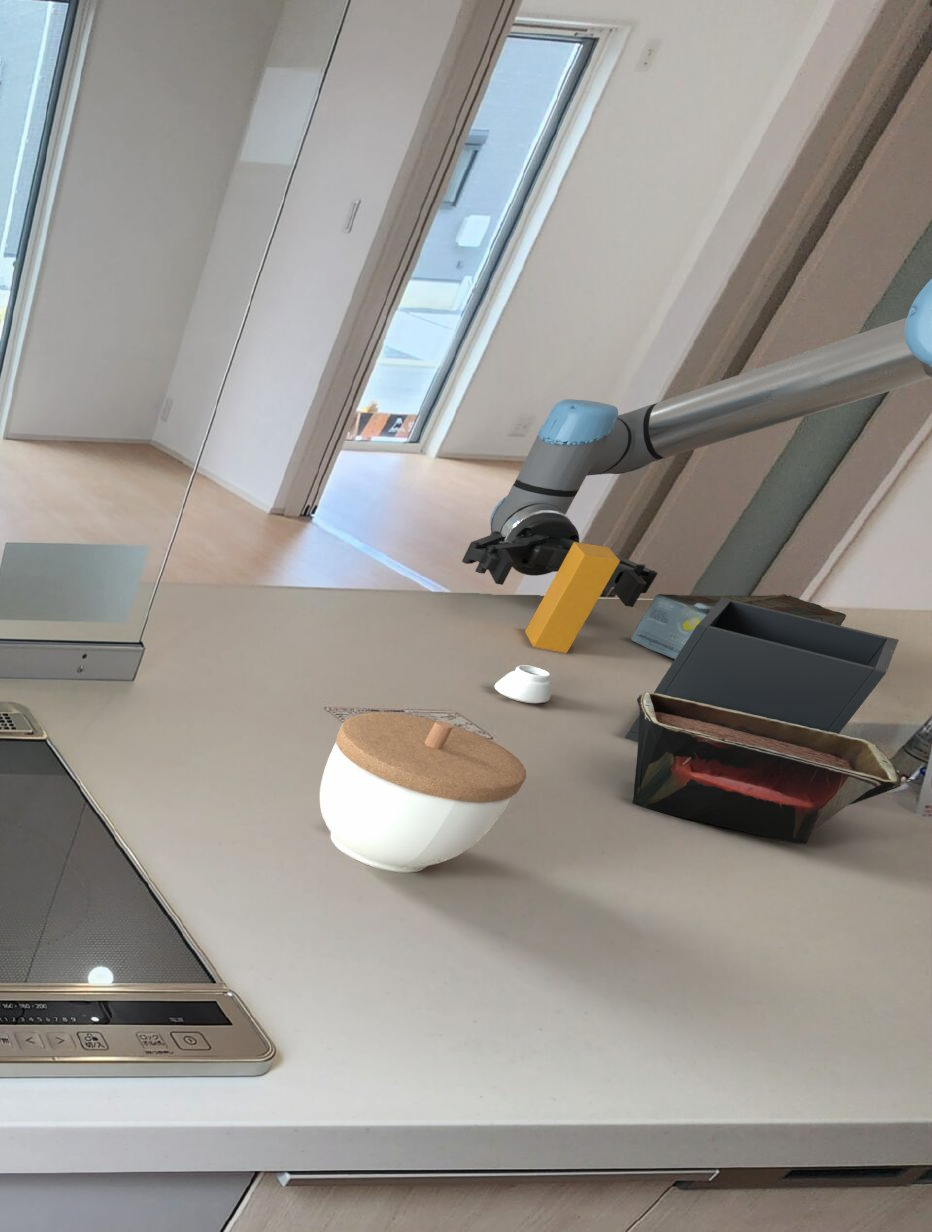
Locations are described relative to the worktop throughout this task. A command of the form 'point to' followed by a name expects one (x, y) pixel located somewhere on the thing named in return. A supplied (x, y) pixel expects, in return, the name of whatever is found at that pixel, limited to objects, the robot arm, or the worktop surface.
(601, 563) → the block
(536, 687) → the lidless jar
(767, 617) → the bin
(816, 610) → the beverage carton
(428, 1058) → the worktop surface
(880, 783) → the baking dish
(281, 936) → the worktop surface
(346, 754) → the lidded bowl
